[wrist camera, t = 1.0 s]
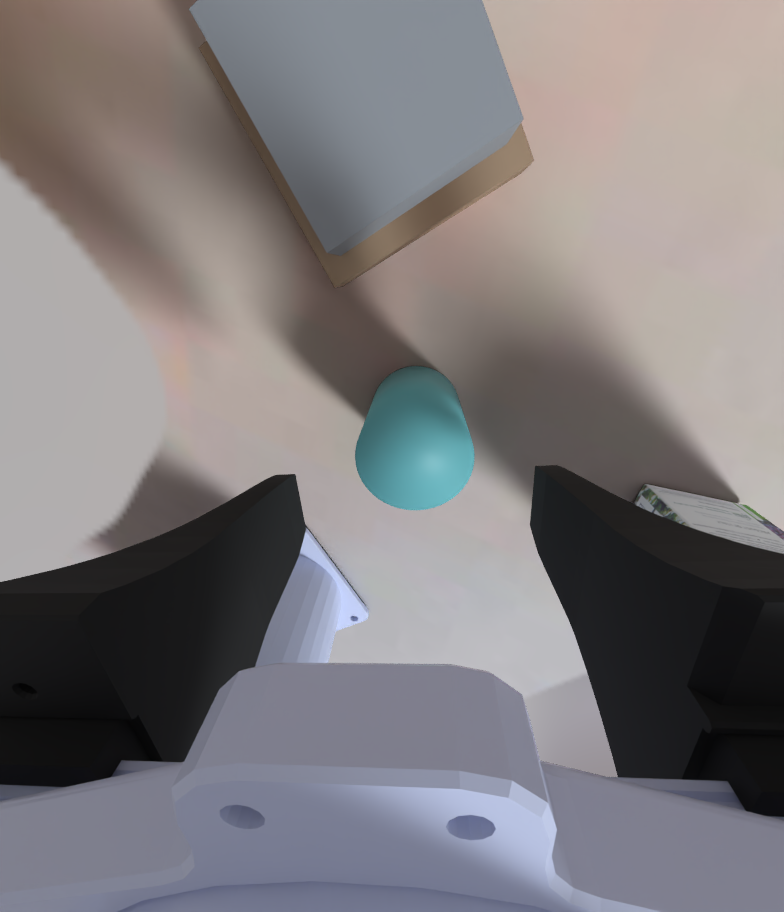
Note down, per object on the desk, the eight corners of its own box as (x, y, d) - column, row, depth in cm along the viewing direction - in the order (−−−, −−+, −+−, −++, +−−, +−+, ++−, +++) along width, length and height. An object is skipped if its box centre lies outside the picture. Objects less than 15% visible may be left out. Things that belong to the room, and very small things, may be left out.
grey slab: (340, 256, 16) (326, 253, 13) (228, 54, 13) (189, 8, 11) (506, 144, 14) (523, 118, 11) (410, -114, 11) (408, -210, 9)
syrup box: (689, 582, 23) (1038, 979, 10) (593, 562, 23) (822, 939, 10) (745, 502, 21) (1298, 886, 8) (638, 479, 21) (1018, 831, 8)
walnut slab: (344, 286, 18) (334, 287, 16) (230, 80, 15) (198, 47, 13) (517, 176, 16) (534, 160, 14) (422, -86, 13) (423, -160, 11)
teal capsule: (398, 461, 21) (391, 526, 16) (356, 391, 20) (332, 436, 14) (473, 426, 20) (493, 482, 15) (435, 349, 19) (441, 379, 13)
